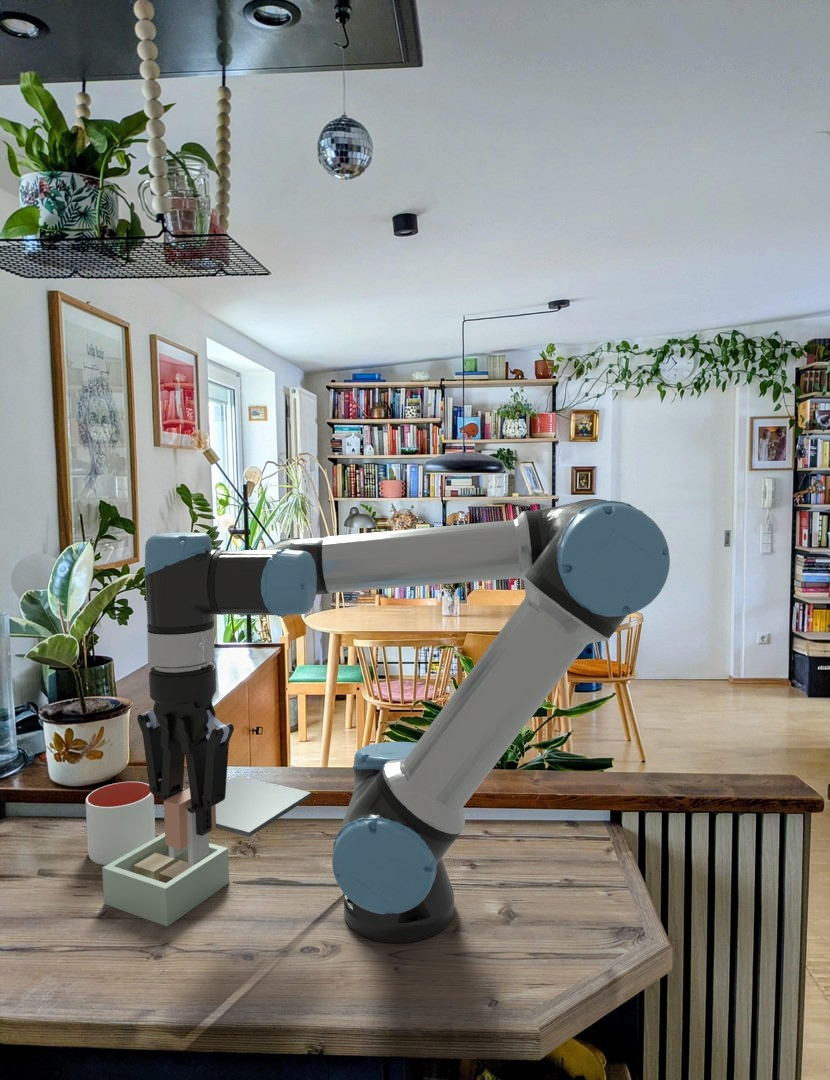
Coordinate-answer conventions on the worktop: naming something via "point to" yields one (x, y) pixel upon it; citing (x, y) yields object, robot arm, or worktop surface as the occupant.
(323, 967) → the worktop surface
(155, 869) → the part
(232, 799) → the lid
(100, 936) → the worktop surface
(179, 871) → the part
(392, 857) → the robot arm
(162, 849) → the tub
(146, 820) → the cup
